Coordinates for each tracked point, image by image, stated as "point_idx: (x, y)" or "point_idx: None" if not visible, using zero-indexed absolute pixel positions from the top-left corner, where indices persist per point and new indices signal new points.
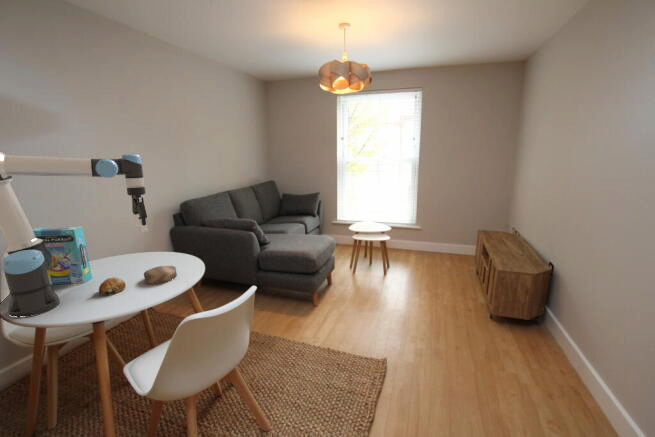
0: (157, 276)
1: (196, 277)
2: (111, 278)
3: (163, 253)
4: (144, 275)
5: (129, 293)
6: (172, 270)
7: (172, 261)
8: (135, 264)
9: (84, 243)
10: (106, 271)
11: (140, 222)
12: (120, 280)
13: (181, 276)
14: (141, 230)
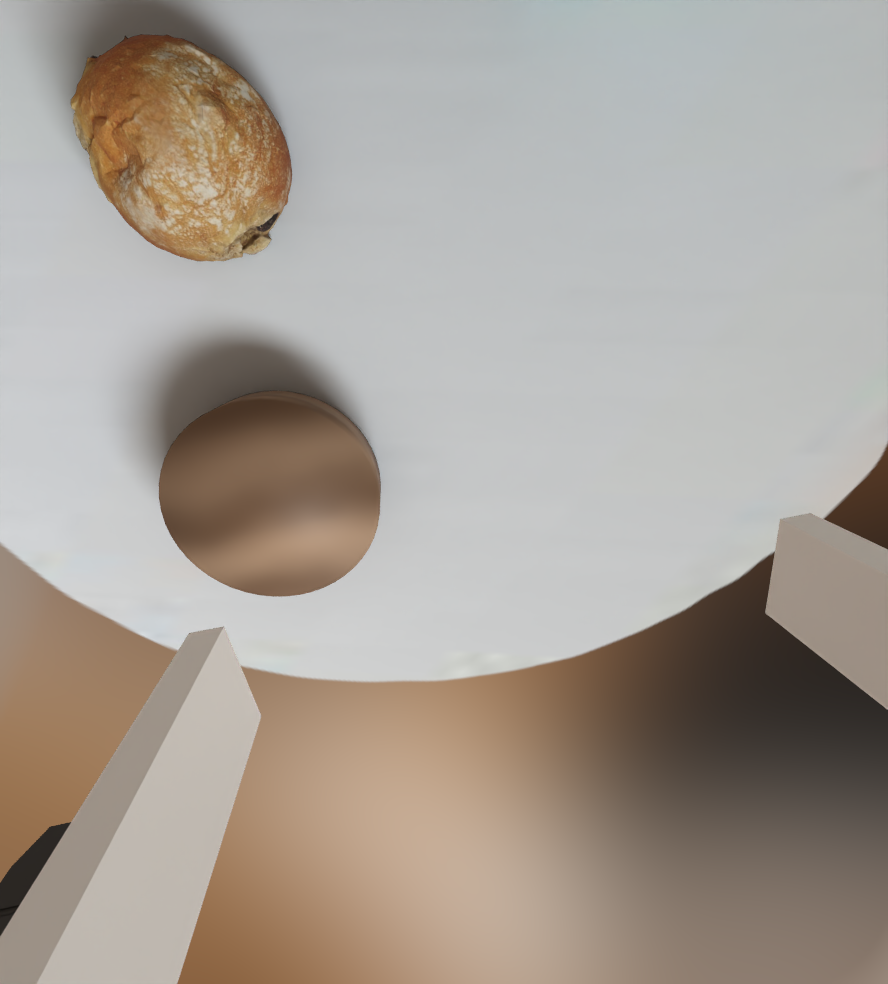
0: (160, 485)
1: None
2: (145, 134)
3: None
4: (233, 402)
5: (87, 284)
6: (238, 576)
7: (576, 559)
8: (696, 340)
9: None
10: (696, 118)
11: (30, 897)
12: (150, 220)
13: None
14: (173, 659)
